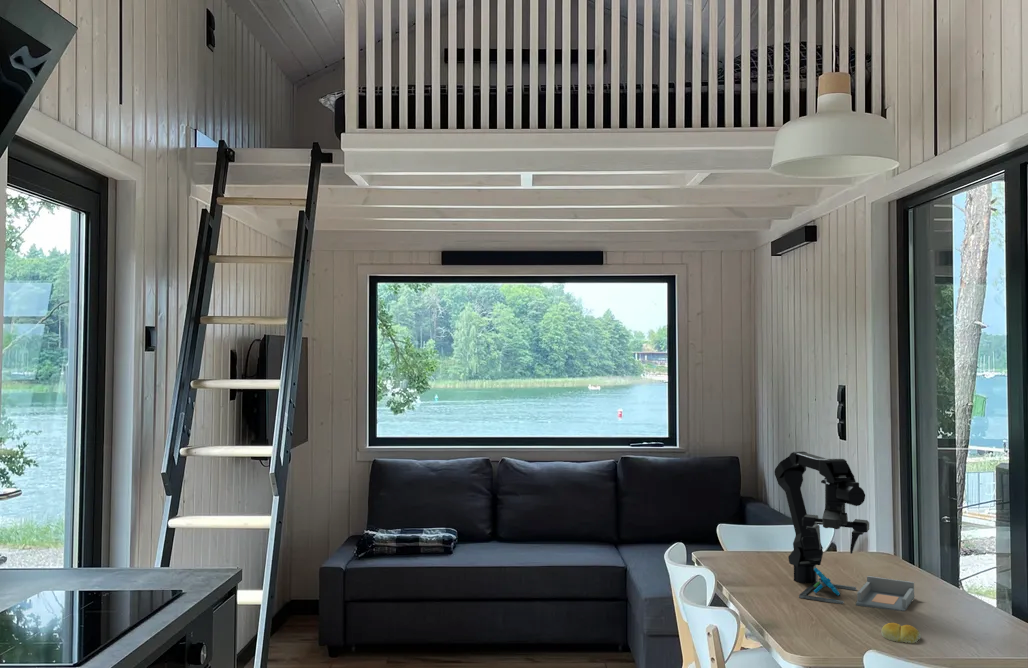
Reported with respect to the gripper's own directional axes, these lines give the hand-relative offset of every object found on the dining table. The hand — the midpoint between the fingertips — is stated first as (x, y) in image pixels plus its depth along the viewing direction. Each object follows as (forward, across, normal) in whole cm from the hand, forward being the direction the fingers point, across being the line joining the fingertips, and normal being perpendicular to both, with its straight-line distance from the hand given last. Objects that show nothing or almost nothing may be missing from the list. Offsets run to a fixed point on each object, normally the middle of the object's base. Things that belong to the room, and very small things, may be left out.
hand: (835, 551), depth 255 cm
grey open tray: (+13, +14, -1) cm, 19 cm away
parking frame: (+13, -1, -1) cm, 13 cm away
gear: (+14, 0, 0) cm, 14 cm away
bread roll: (+13, +19, -39) cm, 45 cm away
